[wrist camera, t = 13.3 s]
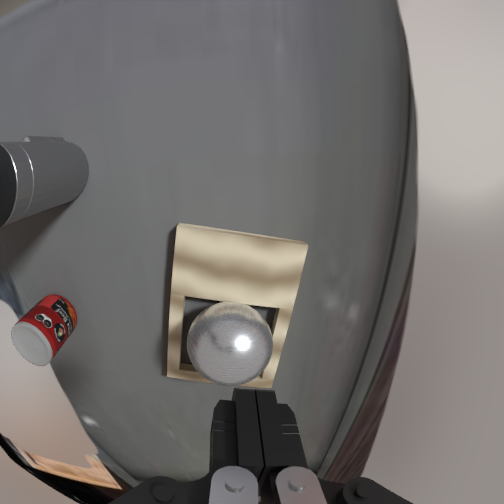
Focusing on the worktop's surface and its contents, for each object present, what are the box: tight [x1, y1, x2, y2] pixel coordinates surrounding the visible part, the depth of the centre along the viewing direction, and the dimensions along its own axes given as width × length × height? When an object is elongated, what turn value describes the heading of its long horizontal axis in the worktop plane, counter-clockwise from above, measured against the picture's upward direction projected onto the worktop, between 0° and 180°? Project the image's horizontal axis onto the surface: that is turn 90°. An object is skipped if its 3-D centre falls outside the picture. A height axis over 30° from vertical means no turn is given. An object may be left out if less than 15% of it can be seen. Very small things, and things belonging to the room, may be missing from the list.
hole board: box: [167, 223, 308, 388], centre depth 45 cm, size 26×18×2 cm
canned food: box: [11, 294, 77, 366], centre depth 39 cm, size 8×8×11 cm
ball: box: [187, 302, 273, 386], centre depth 41 cm, size 12×12×12 cm
